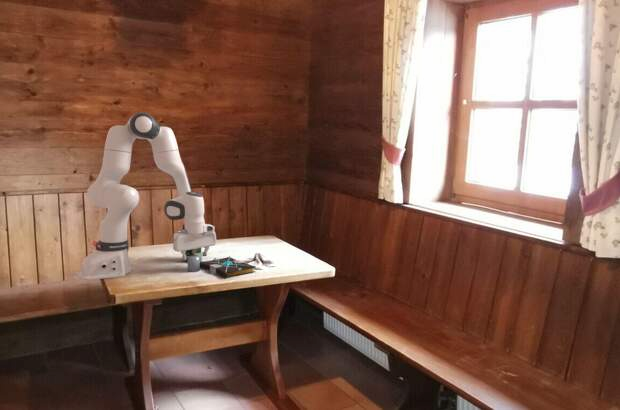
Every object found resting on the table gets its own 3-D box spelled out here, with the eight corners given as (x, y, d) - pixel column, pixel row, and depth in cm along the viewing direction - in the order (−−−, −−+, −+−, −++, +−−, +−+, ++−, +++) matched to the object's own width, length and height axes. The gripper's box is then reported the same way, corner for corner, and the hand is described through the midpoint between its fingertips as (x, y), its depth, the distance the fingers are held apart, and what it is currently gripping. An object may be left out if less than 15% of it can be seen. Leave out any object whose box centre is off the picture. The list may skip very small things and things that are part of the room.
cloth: (249, 271, 237) (250, 258, 236) (231, 261, 252) (232, 249, 251) (291, 265, 249) (291, 253, 248) (271, 256, 264) (272, 245, 263)
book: (198, 268, 240) (198, 258, 239) (229, 262, 251) (229, 252, 251) (225, 280, 224) (225, 269, 224) (256, 273, 236) (256, 262, 235)
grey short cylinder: (190, 272, 231) (190, 258, 230) (185, 269, 235) (185, 256, 234) (201, 271, 234) (201, 257, 233) (196, 268, 239) (196, 254, 238)
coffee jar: (180, 259, 253) (180, 221, 250) (195, 256, 258) (195, 220, 255) (188, 263, 245) (188, 225, 242) (204, 261, 250) (204, 223, 247)
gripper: (176, 232, 224) (177, 263, 227) (217, 226, 237) (218, 255, 240) (169, 229, 229) (170, 260, 231) (210, 223, 242) (211, 252, 245)
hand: (195, 257), depth 236 cm, fingers open, 8 cm apart
